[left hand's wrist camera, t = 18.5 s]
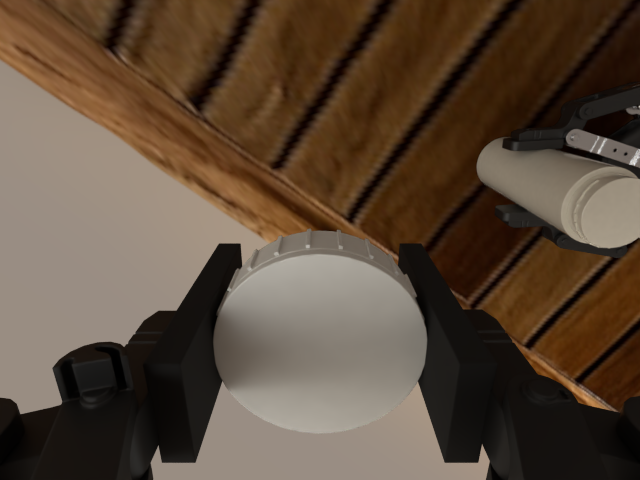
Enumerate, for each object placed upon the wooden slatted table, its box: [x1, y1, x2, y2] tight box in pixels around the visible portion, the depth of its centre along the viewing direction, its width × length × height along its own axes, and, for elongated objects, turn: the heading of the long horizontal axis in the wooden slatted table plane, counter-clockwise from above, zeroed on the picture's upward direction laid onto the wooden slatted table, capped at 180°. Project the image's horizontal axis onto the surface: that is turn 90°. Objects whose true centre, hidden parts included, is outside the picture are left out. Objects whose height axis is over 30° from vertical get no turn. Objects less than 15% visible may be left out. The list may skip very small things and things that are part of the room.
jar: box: [477, 137, 640, 248], centre depth 30 cm, size 5×5×16 cm
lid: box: [213, 229, 427, 433], centre depth 11 cm, size 6×6×2 cm
